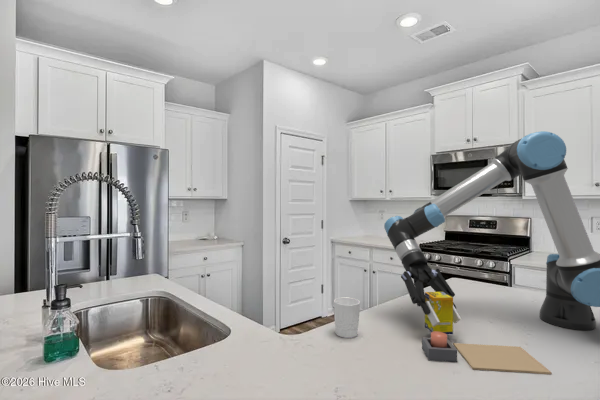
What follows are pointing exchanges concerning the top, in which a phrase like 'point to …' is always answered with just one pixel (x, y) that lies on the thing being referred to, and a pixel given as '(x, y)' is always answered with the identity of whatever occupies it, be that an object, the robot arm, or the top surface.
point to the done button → (438, 339)
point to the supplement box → (440, 312)
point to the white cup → (346, 316)
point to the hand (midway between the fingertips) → (447, 322)
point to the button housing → (439, 351)
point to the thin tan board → (500, 358)
